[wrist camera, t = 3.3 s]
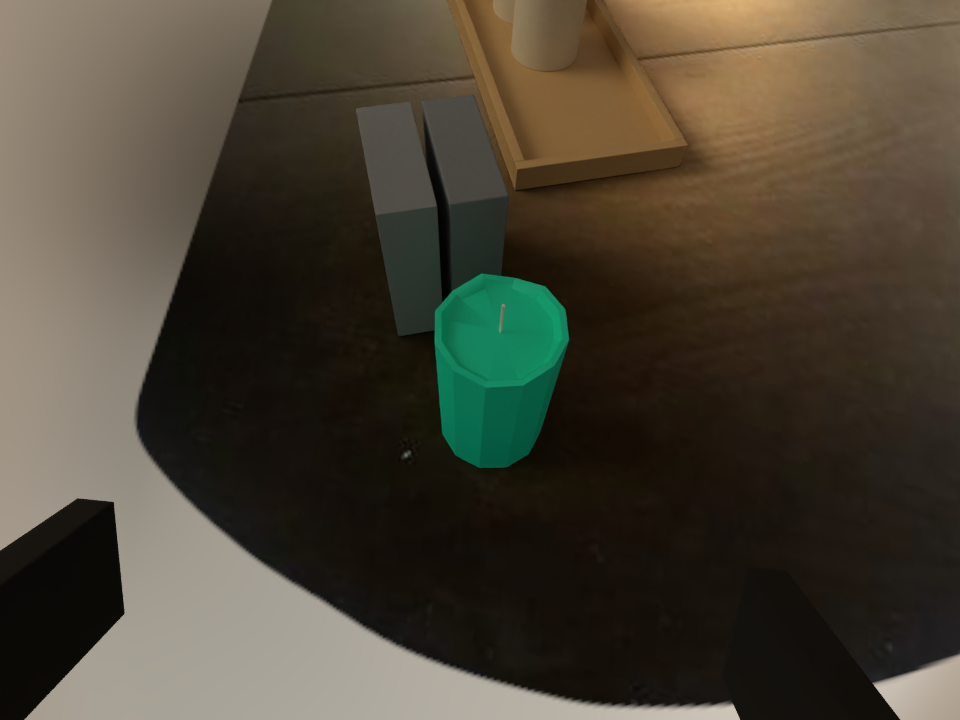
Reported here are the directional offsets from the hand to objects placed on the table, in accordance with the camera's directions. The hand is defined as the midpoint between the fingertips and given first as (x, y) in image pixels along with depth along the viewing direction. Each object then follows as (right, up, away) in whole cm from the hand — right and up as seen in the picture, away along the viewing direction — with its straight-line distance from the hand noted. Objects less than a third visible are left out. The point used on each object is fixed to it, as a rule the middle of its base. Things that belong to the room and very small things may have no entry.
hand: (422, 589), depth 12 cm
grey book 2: (0, +11, +27) cm, 29 cm away
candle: (+2, +1, +22) cm, 22 cm away
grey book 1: (-4, +10, +27) cm, 29 cm away
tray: (+7, +31, +39) cm, 50 cm away
